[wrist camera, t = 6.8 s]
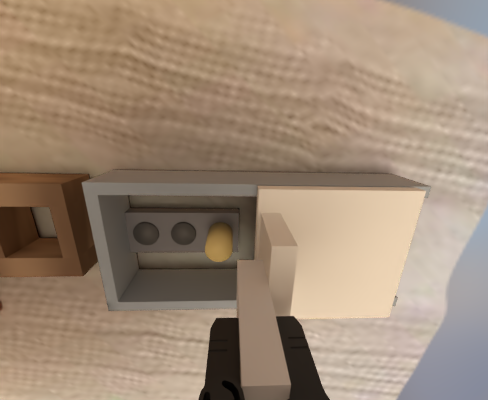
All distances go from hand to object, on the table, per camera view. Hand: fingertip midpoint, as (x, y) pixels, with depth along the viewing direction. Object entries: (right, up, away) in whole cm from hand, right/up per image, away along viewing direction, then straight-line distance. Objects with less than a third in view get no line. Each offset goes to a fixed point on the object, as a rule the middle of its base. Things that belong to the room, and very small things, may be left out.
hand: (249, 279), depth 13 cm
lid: (+6, +1, +3) cm, 6 cm away
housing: (+1, +2, +7) cm, 7 cm away
